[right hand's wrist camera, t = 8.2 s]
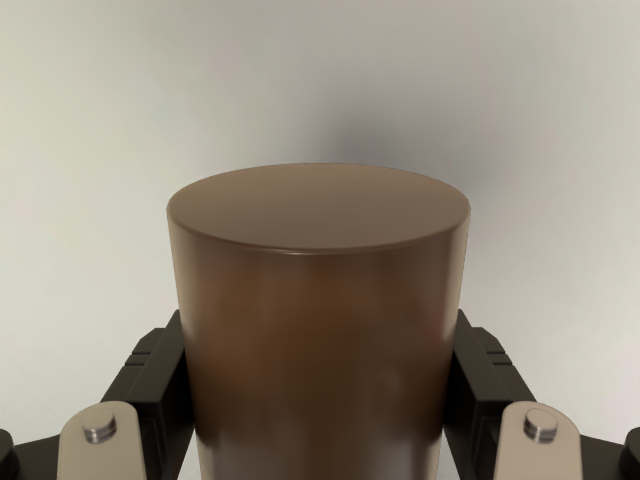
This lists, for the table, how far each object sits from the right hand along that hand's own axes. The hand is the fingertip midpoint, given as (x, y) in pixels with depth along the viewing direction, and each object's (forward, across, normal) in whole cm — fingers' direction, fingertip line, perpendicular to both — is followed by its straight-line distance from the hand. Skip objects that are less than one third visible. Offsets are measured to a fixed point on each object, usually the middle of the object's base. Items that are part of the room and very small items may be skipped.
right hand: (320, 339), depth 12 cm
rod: (+2, 0, -8) cm, 8 cm away
